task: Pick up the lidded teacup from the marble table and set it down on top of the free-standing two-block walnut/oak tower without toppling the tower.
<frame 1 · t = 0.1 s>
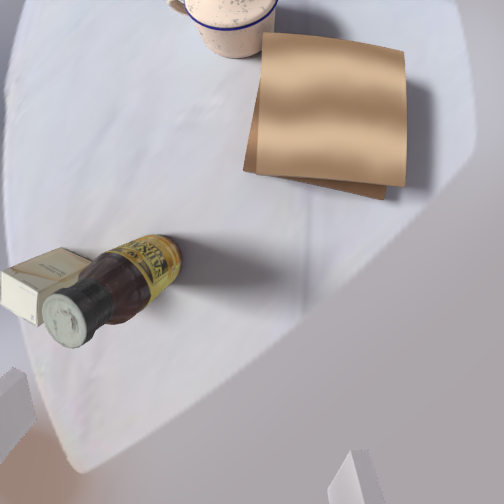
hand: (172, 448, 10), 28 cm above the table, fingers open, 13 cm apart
skincare box: (74, 268, 39), on the table
teacup with lid: (226, 27, 32), on the table
sauce bottle: (158, 257, 38), on the table
tower top block: (329, 113, 30), point 3 cm above the table, touching tower base block
tower base block: (322, 121, 34), on the table, touching tower top block
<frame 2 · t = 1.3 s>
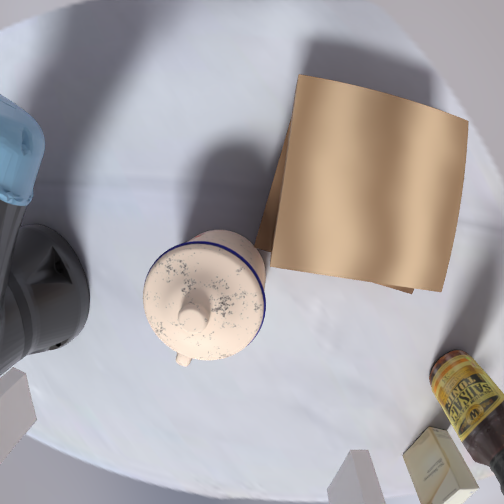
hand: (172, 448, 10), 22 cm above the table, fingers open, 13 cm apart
skincare box: (424, 442, 34), on the table
teacup with lid: (215, 286, 32), on the table
sauce bottle: (446, 370, 32), on the table
tower top block: (366, 186, 25), point 3 cm above the table, touching tower base block
tower base block: (354, 187, 29), on the table, touching tower top block
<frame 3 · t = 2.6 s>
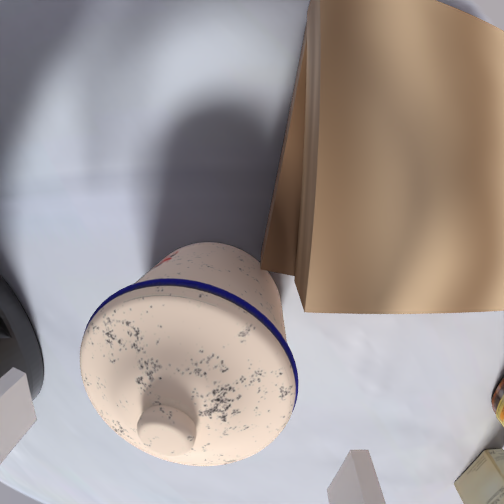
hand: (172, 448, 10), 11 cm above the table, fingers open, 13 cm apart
skincare box: (477, 465, 24), on the table
teacup with lid: (206, 326, 21), on the table
tower top block: (433, 155, 14), point 3 cm above the table, touching tower base block
tower base block: (400, 160, 18), on the table, touching tower top block
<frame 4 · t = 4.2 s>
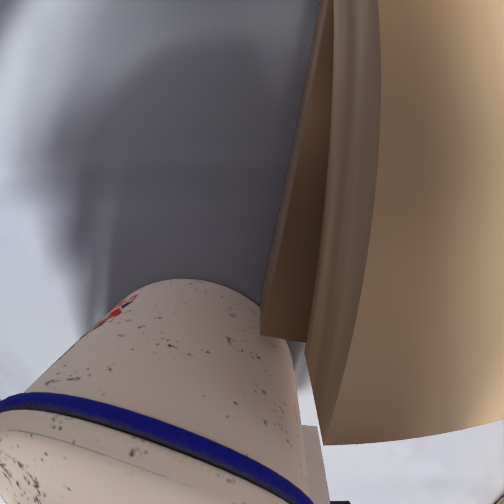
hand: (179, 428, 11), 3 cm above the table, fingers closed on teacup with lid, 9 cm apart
skincare box: (500, 502, 18), on the table
teacup with lid: (188, 389, 14), on the table, touching gripper
tower base block: (459, 159, 12), on the table, touching tower top block
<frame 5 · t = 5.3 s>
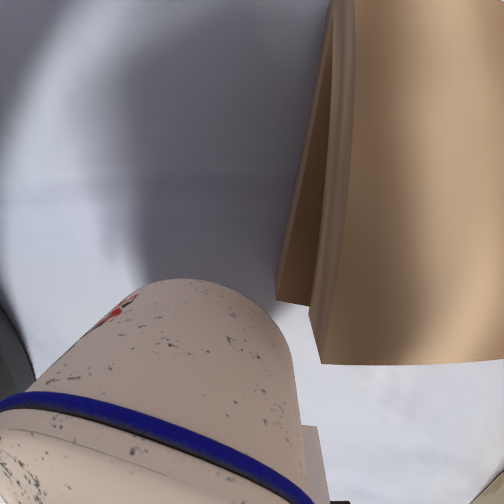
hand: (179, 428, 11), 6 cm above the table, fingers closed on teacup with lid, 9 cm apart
skincare box: (493, 486, 21), on the table
teacup with lid: (188, 389, 14), point 4 cm above the table, touching gripper
tower top block: (474, 171, 12), point 3 cm above the table, touching tower base block
tower base block: (433, 170, 15), on the table, touching tower top block
when the fingers open (11 cm above the table, at t = 11.3 s): teacup with lid stays where it is, point 8 cm above the table.
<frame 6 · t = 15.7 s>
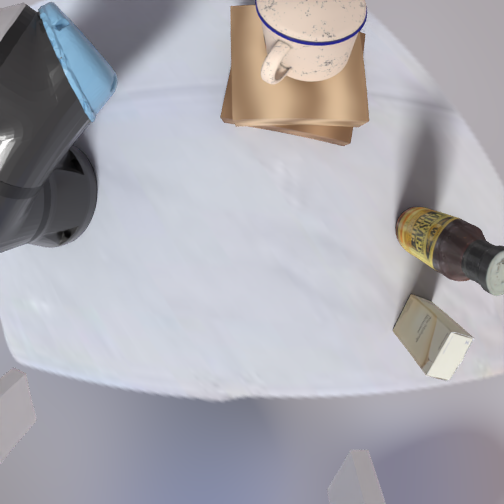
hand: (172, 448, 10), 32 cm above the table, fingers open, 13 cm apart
skincare box: (411, 316, 42), on the table
teacup with lid: (300, 58, 29), point 8 cm above the table
sauce bottle: (412, 229, 40), on the table
tower top block: (295, 68, 33), point 3 cm above the table, touching tower base block
tower base block: (294, 79, 37), on the table, touching tower top block
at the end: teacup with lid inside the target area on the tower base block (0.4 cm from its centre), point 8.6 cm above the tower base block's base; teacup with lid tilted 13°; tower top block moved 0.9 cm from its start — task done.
